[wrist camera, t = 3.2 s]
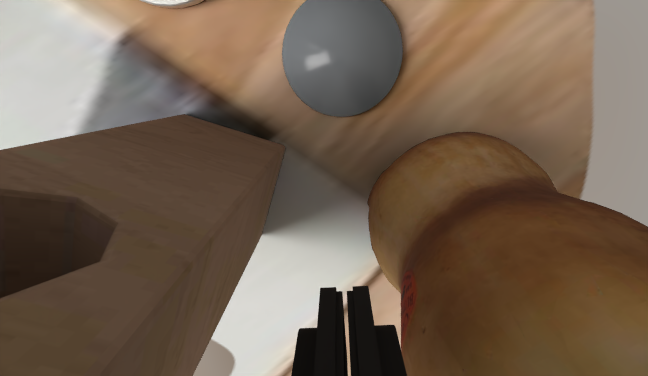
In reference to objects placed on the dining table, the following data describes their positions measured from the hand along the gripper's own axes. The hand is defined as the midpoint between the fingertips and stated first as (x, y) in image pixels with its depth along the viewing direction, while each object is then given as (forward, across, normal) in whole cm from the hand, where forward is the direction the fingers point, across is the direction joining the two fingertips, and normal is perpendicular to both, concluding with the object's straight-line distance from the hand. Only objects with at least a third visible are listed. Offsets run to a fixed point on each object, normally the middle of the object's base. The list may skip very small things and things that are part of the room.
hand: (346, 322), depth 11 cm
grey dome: (+20, -1, -10) cm, 23 cm away
